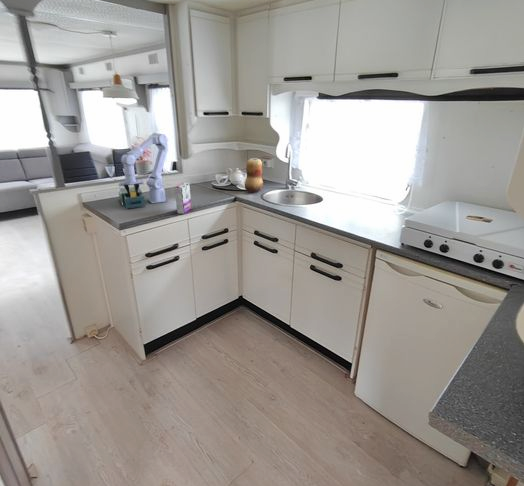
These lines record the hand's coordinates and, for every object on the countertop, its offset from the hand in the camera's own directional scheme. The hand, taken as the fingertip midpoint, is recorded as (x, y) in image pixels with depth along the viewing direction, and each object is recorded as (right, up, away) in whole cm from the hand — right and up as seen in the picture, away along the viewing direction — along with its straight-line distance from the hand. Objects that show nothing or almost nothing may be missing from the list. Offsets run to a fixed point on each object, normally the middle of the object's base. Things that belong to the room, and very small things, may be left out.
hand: (132, 196), depth 204 cm
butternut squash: (+75, +8, +39) cm, 85 cm away
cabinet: (-6, -2, +12) cm, 13 cm away
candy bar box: (+34, -10, -6) cm, 36 cm away
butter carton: (0, -1, 0) cm, 1 cm away
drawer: (0, -6, +1) cm, 6 cm away
